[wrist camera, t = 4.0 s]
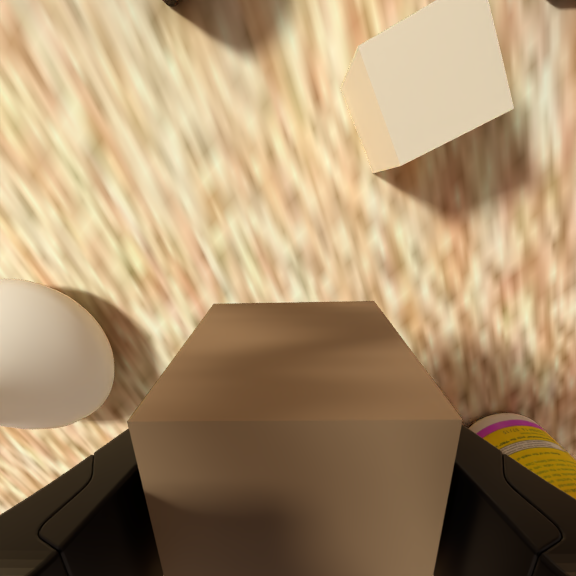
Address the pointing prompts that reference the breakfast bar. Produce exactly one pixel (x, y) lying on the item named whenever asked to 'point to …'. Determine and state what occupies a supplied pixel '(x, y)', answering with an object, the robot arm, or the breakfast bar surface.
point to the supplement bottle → (530, 448)
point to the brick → (171, 2)
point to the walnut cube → (296, 446)
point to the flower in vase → (49, 358)
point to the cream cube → (426, 82)
